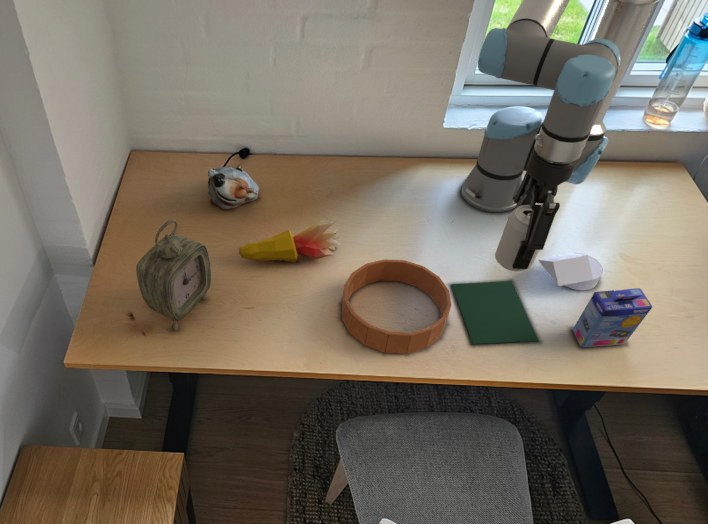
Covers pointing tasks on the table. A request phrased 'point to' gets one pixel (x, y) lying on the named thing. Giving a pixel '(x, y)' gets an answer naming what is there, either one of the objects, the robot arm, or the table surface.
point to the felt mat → (493, 313)
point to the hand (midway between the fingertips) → (516, 253)
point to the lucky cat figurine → (231, 187)
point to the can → (514, 238)
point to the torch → (294, 244)
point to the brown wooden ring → (406, 274)
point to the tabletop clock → (174, 275)
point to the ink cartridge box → (611, 317)
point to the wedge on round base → (573, 270)
